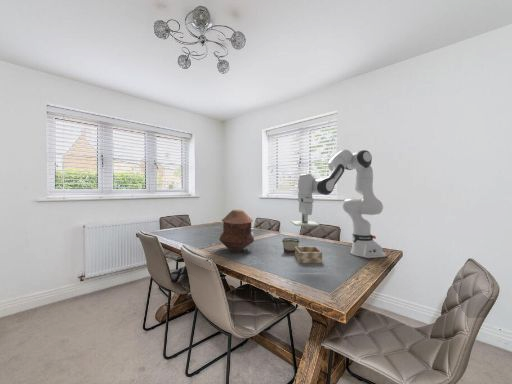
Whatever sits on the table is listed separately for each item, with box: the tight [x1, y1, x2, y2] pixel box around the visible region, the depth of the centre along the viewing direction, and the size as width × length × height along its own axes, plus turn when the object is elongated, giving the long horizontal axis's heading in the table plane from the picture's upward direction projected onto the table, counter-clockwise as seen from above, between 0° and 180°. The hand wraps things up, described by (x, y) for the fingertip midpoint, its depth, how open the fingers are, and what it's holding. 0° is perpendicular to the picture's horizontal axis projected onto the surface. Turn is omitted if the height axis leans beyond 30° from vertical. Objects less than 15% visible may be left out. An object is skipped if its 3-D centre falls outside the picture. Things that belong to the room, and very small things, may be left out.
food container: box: [281, 237, 301, 254], centre depth 167 cm, size 12×6×10 cm, turn 84°
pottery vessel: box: [218, 209, 255, 253], centre depth 173 cm, size 26×26×30 cm
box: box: [294, 246, 323, 264], centre depth 150 cm, size 14×14×7 cm
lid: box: [290, 215, 321, 227], centre depth 149 cm, size 15×15×5 cm
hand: (304, 220), depth 149 cm, fingers closed on lid, 3 cm apart
